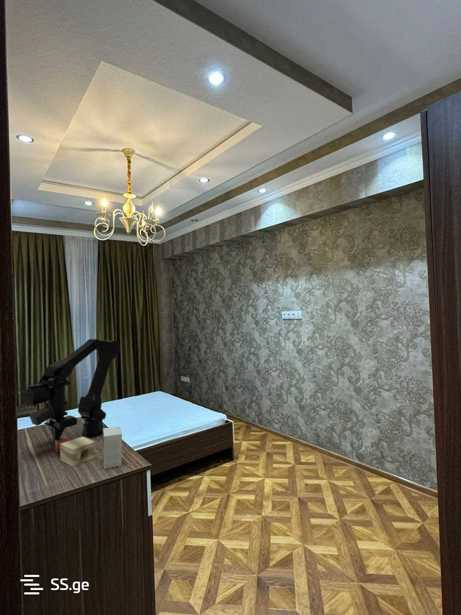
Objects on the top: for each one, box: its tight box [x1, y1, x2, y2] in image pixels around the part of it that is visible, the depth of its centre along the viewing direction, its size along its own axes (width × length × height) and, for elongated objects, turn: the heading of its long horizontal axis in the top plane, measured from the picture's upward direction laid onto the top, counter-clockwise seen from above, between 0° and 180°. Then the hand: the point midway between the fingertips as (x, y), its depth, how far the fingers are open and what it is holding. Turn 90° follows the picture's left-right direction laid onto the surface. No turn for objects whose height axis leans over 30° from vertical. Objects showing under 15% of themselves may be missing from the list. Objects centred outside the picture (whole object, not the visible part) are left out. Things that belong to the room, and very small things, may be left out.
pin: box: [54, 436, 83, 455], centre depth 112 cm, size 4×12×4 cm, turn 55°
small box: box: [102, 425, 123, 470], centre depth 106 cm, size 8×6×10 cm
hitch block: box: [59, 436, 97, 467], centre depth 109 cm, size 8×8×6 cm
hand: (56, 441), depth 118 cm, fingers closed
